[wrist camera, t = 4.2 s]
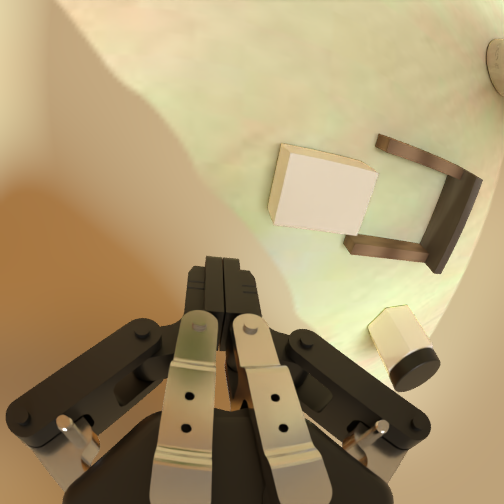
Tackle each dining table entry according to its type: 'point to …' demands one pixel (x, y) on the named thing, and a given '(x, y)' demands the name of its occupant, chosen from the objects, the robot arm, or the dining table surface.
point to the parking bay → (443, 219)
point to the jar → (403, 348)
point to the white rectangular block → (320, 191)
